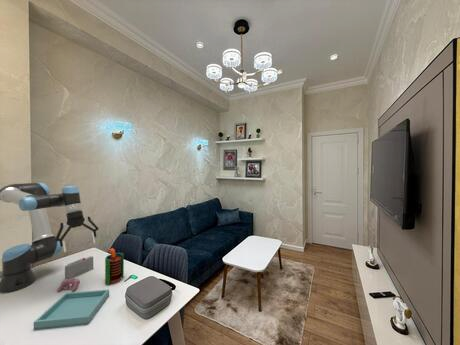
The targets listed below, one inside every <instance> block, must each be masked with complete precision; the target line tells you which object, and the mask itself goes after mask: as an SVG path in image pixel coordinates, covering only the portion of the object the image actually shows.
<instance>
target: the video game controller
mask: <svg viewBox="0 0 460 345" xmlns="http://www.w3.org/2000/svg"><path fill="white" fill-rule="evenodd" d="M80 284H81V281H80V279H78V278H76V277H75V278H70V279H66V280H65V279H63V281H62V282H61V283H60V284H59V286H58V288H57V290H56V292H57V293H60V292H61V291H63V289H64V290H69V289H70V290H71V292H76V290H77V289H78V287H79V285H80Z"/></svg>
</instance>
